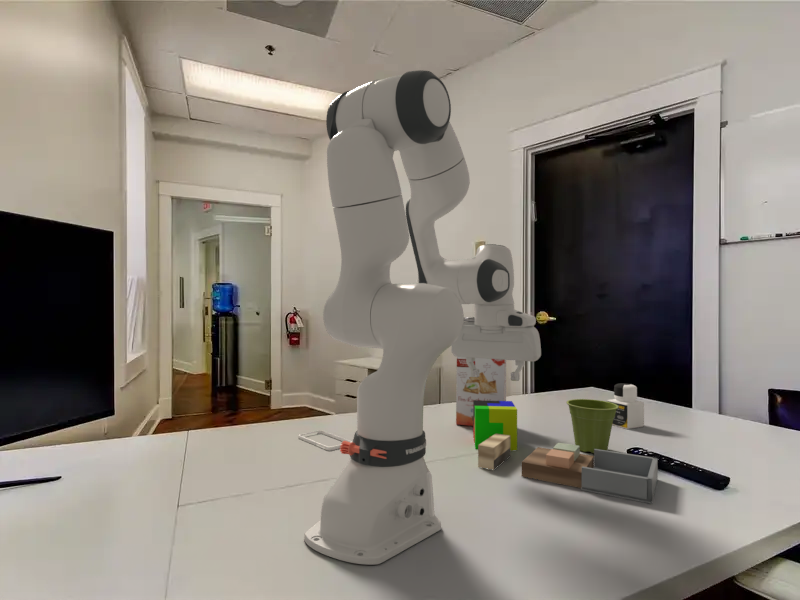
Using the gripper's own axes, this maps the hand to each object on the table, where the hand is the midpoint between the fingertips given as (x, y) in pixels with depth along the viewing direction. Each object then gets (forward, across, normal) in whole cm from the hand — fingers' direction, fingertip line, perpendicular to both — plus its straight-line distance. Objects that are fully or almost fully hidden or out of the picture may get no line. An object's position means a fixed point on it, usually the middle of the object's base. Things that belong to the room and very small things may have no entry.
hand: (494, 378), depth 109 cm
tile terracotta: (+16, +15, -3) cm, 22 cm away
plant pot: (+19, +17, +20) cm, 33 cm away
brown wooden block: (+19, +14, -1) cm, 23 cm away
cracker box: (+20, -15, +28) cm, 38 cm away
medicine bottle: (+20, +21, +50) cm, 58 cm away
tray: (+19, +26, -1) cm, 32 cm away
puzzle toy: (+19, -5, +12) cm, 23 cm away
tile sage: (+16, +15, +2) cm, 22 cm away
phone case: (+19, -43, -9) cm, 48 cm away
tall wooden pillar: (+19, 0, -1) cm, 19 cm away
